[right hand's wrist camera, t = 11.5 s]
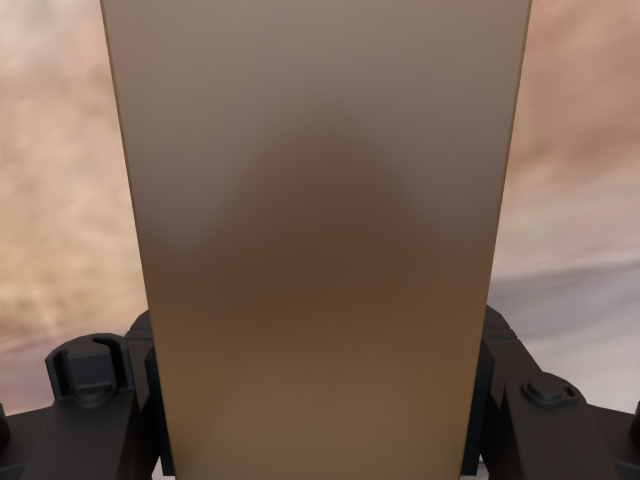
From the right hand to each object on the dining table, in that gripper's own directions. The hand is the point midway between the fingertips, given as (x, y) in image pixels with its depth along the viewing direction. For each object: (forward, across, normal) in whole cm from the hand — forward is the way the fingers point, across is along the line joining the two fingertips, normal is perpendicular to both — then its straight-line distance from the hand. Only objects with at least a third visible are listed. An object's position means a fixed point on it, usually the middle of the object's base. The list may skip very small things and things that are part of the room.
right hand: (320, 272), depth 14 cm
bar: (+1, 0, -10) cm, 10 cm away
